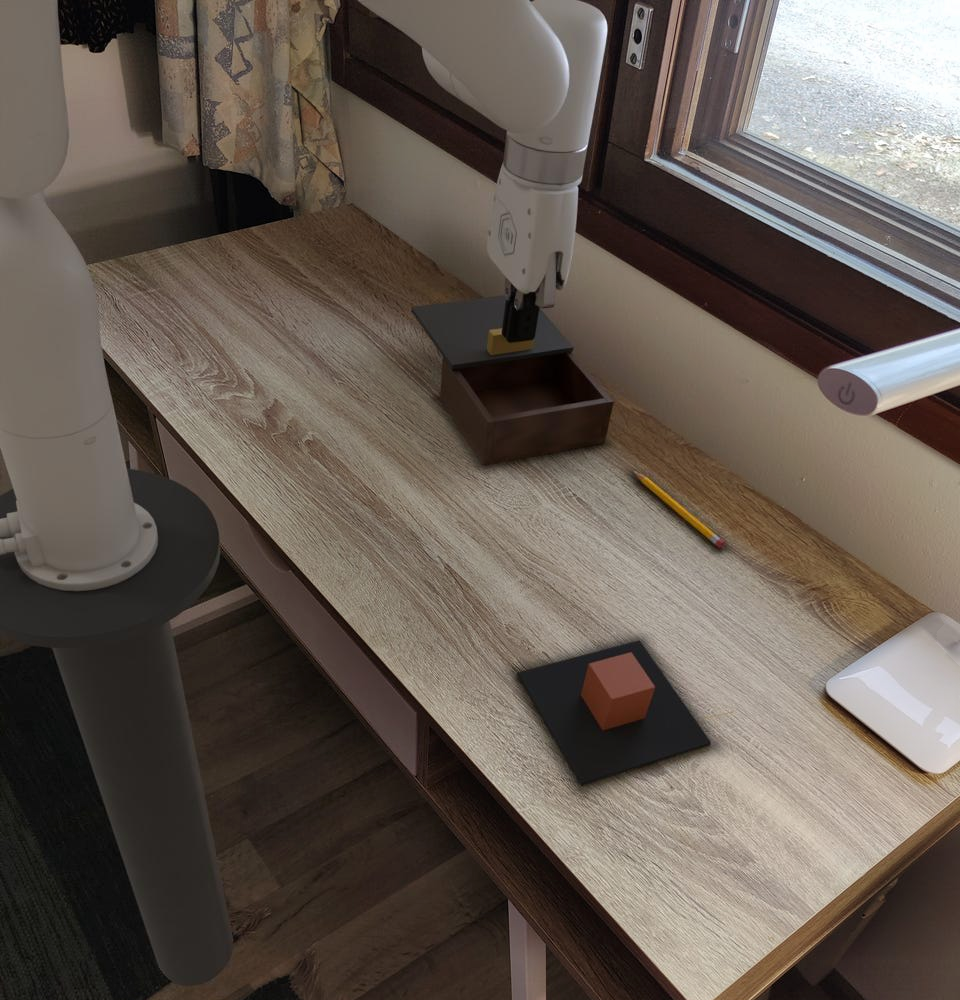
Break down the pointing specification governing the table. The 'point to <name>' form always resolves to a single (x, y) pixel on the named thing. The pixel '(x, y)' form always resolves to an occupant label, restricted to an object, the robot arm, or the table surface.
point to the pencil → (680, 510)
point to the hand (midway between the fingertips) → (517, 337)
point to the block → (617, 691)
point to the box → (526, 406)
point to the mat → (619, 746)
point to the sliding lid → (484, 333)
